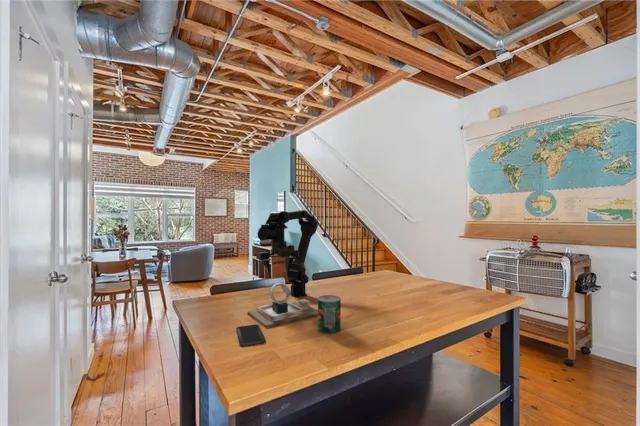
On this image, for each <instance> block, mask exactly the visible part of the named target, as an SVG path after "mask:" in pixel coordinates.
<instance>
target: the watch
mask: <svg viewBox="0 0 640 426" xmlns="http://www.w3.org/2000/svg"><path fill="white" fill-rule="evenodd" d="M279 285H280V286H281V290H282V291H283V293H284V294H285V295H286V296H285V298H284V299H282V300H278V301H277V300H276V298H275V296H274V289H275V288H276V287H277V286H279ZM290 293H291V289H290V288H289V286H288V285H287V284H286V283H285V282H283V283H282V282H276V283H274V284H272V286H271V287H270V290H269V295H270V296H269V297H270V298H271V300H272V303H271V304H272V310H273V311H274V312H276V313H277V314H280V313H286V312H288V304H287V303H285V302H286V301H288V300H289V299H290V297H291V295H290Z"/></svg>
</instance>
